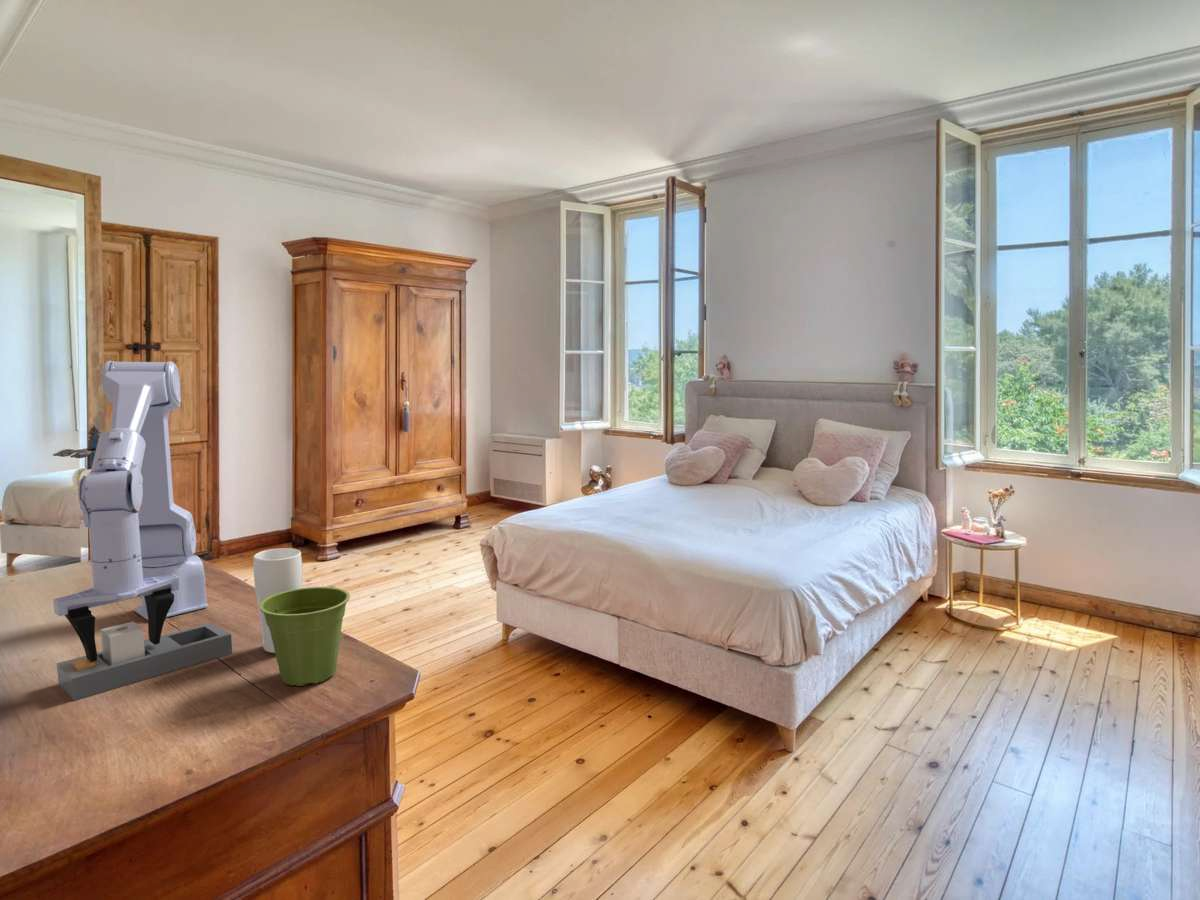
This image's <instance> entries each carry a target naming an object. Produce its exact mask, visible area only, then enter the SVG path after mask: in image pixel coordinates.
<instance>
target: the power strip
mask: <svg viewBox="0 0 1200 900" xmlns="http://www.w3.org/2000/svg"><path fill="white" fill-rule="evenodd" d="M232 641H233V640H232V634H231V633H230V632H228V631H226V630H225V629H223V628H222V627H220V626H219V625H216V624H215V623H213V622H208V623H204V624H201V625H197V626H194V627H190V628H186V629H182V630H178V631H175V632H171V633H166V634H164V635H162V634H161V637H160V643H159V644H156V645H154V644H153V643H152V642H150V641H149V638H148V639H147V638H146V639H144V647H145V656H143V657H140V658H136V659H132V660H129V661H125V662H122V663H118V664H114V665H111V666H108V665H107V664H106V663H105V662H104V661H103V651H97V661H93V662H90V661H89V660H88V659H87V657H86V655H83V656H79V657H76V658H71V659H69V660H64V661H61V662H57V663H56V668H57V679H58V680H57V682H58V685H59V686H60V687H61V689H62V690H64V692H65V693H66V694H67V696H68V697H70V699H72V701H77V700H81V699H85V698H87V697H92V696H94V695H97V694H101V693H103V692H107V691H111V690H113V689H118V688H120V687H123V686H127V685H128V686H129V685H130V684H134V683H137V682H140V681H144V680H147V679H150V678H153V677H157V676H160V675H164V674H167V673H170V672H175V671H177V670H181V669H184V668H186V667H191V666H194V665H196V664H200V663H204V662H208V661H211V660H214V659H218V658H221V657H224V656H227V655H230V654H233V644H232Z"/></svg>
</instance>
